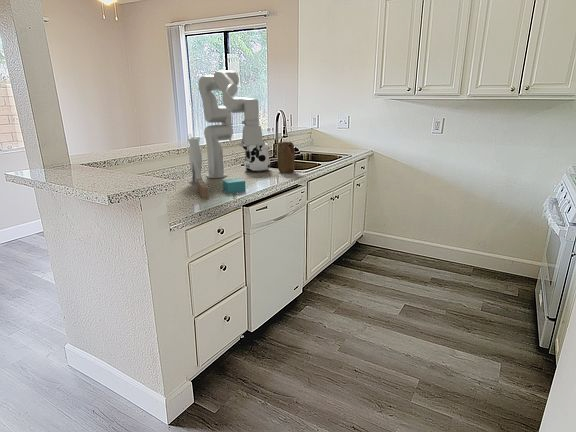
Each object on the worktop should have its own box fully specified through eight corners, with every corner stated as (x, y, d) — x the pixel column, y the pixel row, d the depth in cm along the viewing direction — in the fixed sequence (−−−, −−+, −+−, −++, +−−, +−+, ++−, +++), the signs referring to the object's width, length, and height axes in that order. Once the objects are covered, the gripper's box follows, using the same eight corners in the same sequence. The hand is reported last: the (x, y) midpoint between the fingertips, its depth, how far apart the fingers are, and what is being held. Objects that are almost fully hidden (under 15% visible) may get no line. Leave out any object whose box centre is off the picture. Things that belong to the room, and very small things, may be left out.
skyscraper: (187, 182, 226) (183, 134, 217) (199, 180, 231) (196, 133, 222) (193, 184, 220) (189, 135, 211) (206, 182, 225) (202, 134, 216)
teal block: (223, 190, 207) (222, 179, 205) (240, 188, 212) (239, 178, 210) (228, 194, 200) (227, 182, 199) (245, 191, 205) (245, 180, 203)
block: (276, 172, 251) (276, 142, 245) (281, 170, 258) (280, 140, 252) (292, 173, 248) (292, 142, 241) (296, 171, 254) (296, 141, 248)
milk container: (271, 168, 265) (271, 142, 259) (268, 173, 249) (267, 145, 243) (247, 168, 267) (246, 142, 261) (242, 173, 250) (241, 145, 244)
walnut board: (196, 189, 209) (196, 179, 207) (202, 189, 210) (201, 178, 208) (202, 198, 191) (201, 187, 189) (208, 198, 192) (208, 186, 190)
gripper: (237, 124, 192) (239, 160, 198) (269, 123, 198) (269, 158, 204) (234, 123, 199) (235, 158, 205) (264, 122, 205) (265, 156, 211)
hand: (252, 157), depth 204 cm, fingers open, 4 cm apart
